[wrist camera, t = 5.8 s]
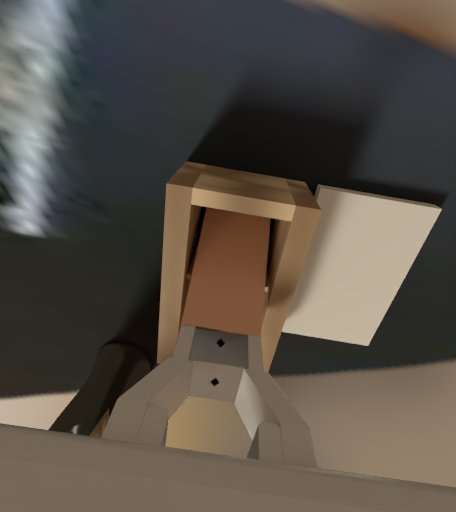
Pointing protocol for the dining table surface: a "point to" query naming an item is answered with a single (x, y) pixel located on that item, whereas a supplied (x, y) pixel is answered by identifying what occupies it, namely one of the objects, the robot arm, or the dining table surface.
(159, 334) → the pocket block
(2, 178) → the dining table surface
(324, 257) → the mat
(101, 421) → the beer glass
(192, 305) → the tile
